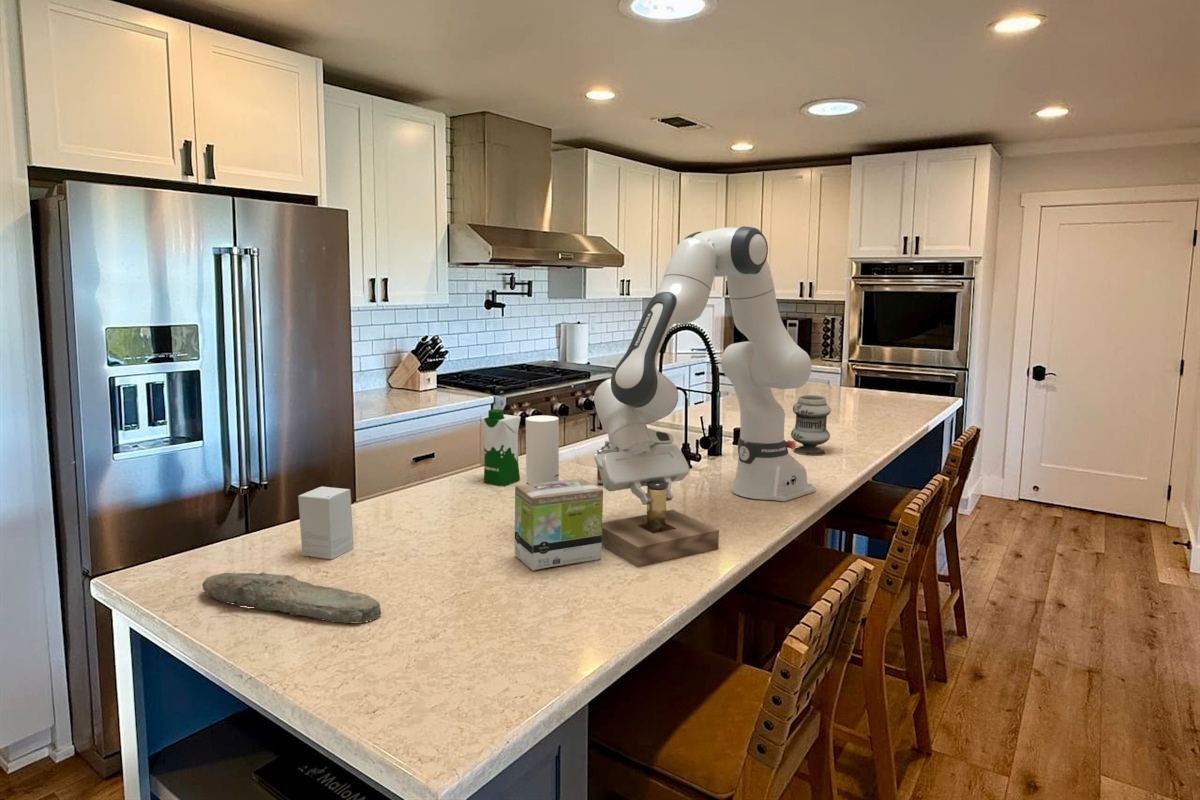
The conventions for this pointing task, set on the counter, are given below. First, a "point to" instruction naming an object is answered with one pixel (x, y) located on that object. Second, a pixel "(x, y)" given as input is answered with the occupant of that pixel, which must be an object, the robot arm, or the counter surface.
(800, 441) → the apothecary jar
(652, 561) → the socket block
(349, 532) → the supplement box
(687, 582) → the counter surface
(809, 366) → the robot arm
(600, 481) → the food container
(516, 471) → the milk carton
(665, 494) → the spice jar
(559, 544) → the tea box
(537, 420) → the cylindrical container
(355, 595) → the elongated rock
